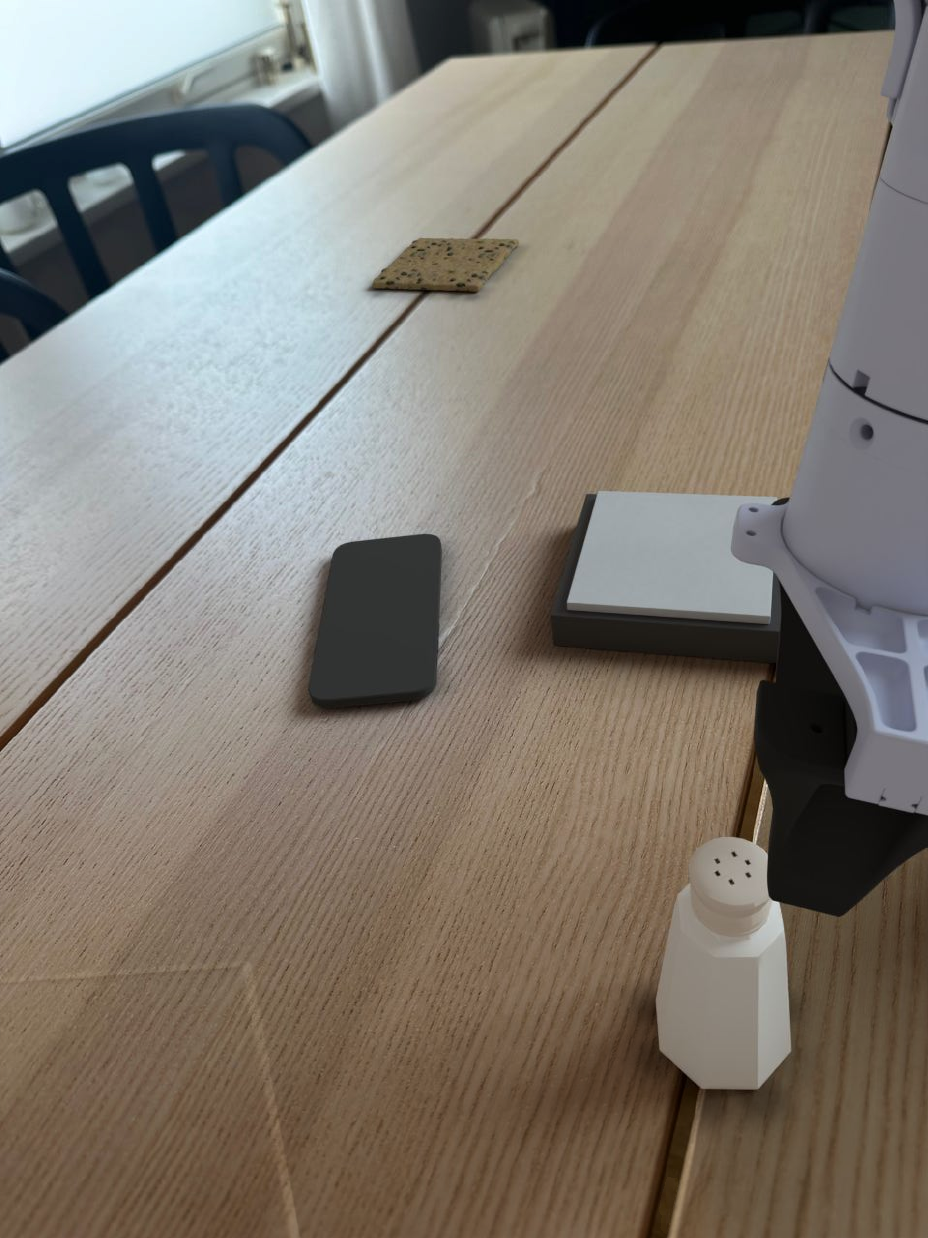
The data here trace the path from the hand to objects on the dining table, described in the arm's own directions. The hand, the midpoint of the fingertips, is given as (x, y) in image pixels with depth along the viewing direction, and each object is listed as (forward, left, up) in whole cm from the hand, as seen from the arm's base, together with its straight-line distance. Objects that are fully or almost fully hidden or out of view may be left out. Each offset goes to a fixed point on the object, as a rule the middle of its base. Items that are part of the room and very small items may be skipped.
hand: (806, 799), depth 30 cm
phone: (+24, -21, -14) cm, 35 cm away
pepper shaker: (+2, +1, -14) cm, 14 cm away
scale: (+6, -26, -14) cm, 30 cm away
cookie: (+35, -75, -14) cm, 84 cm away
